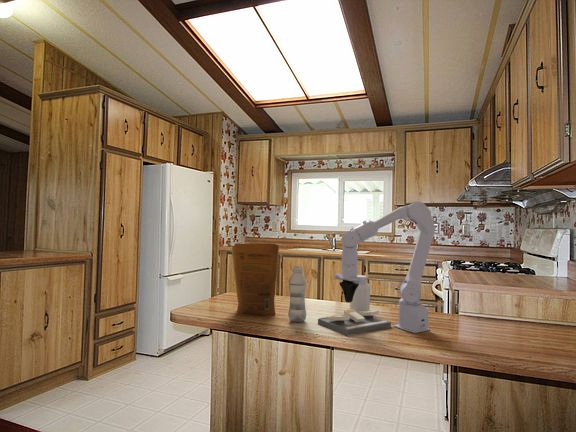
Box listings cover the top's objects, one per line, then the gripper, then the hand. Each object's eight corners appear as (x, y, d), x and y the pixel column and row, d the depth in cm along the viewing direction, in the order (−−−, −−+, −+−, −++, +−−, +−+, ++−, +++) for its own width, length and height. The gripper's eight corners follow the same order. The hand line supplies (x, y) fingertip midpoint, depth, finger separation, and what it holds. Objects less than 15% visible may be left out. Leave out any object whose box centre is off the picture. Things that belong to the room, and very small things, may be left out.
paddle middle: (364, 321, 130) (364, 317, 130) (356, 322, 128) (357, 319, 128) (351, 311, 136) (351, 308, 136) (343, 313, 134) (344, 309, 134)
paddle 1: (349, 319, 126) (349, 315, 127) (341, 320, 124) (341, 316, 125) (336, 319, 132) (336, 315, 132) (328, 320, 130) (328, 316, 130)
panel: (390, 327, 131) (390, 319, 131) (347, 335, 120) (347, 327, 120) (359, 317, 144) (359, 310, 144) (317, 323, 133) (318, 316, 133)
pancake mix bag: (275, 317, 141) (276, 244, 141) (229, 313, 146) (230, 242, 147) (280, 313, 147) (281, 243, 148) (236, 309, 153) (237, 241, 153)
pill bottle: (371, 315, 147) (372, 277, 147) (351, 315, 147) (351, 277, 147) (367, 310, 155) (368, 274, 155) (348, 310, 155) (348, 274, 155)
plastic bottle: (304, 324, 132) (305, 268, 132) (286, 323, 133) (287, 267, 134) (307, 320, 138) (308, 266, 139) (289, 318, 140) (290, 265, 140)
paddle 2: (379, 314, 134) (378, 310, 134) (371, 315, 132) (371, 311, 132) (365, 314, 139) (365, 310, 140) (358, 315, 138) (357, 311, 138)
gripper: (328, 262, 139) (327, 299, 138) (354, 267, 126) (354, 307, 126) (342, 262, 142) (342, 297, 142) (369, 266, 130) (369, 305, 130)
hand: (348, 301), depth 134 cm, fingers closed
